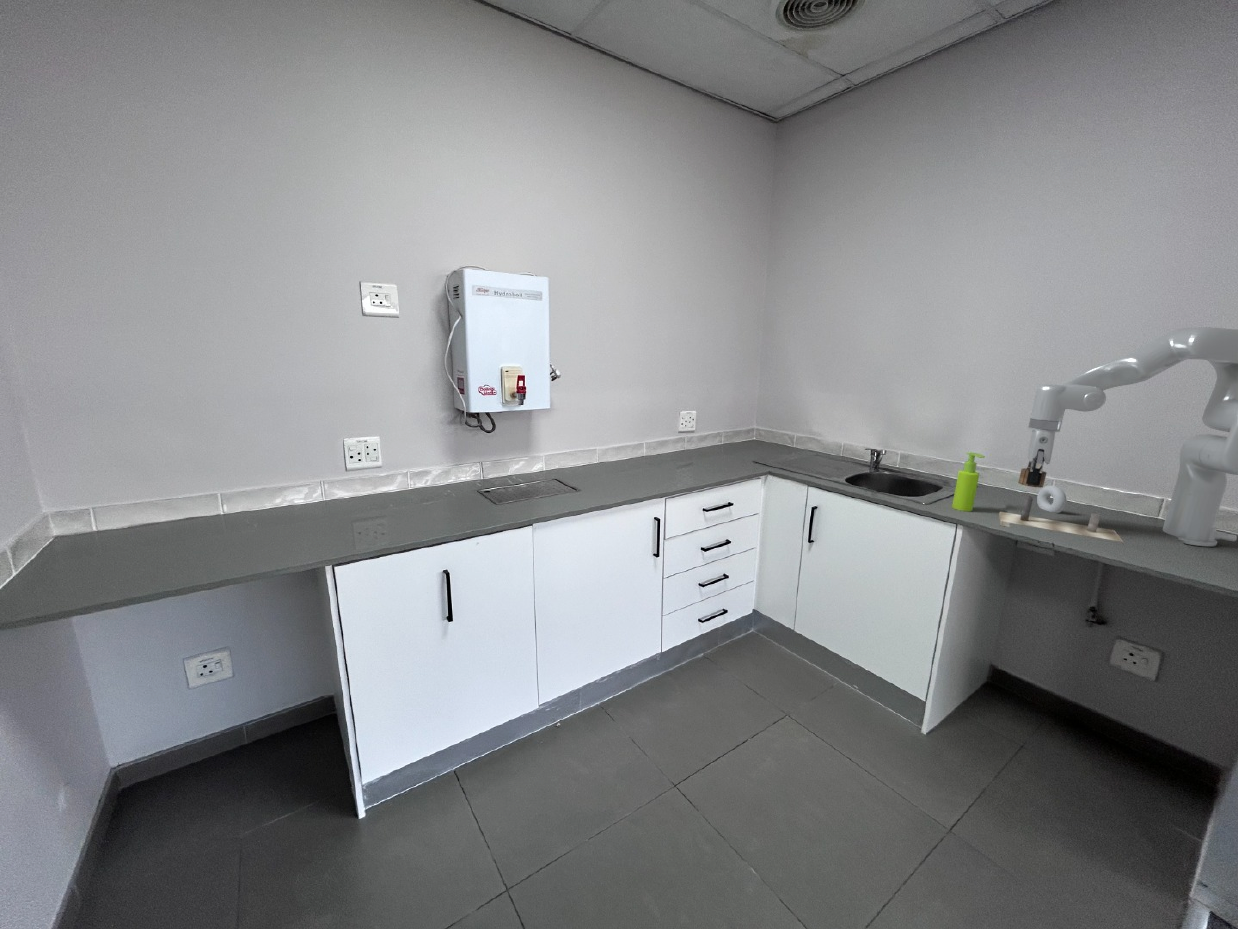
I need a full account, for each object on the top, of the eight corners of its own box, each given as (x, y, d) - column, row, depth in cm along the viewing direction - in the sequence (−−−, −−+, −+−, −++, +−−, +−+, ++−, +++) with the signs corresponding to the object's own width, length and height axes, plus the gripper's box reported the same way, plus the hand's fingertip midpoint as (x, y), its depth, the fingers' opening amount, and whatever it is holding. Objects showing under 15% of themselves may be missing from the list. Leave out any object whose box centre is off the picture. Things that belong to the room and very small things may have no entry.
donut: (1065, 518, 166) (1072, 490, 163) (1055, 518, 166) (1062, 489, 163) (1041, 509, 175) (1047, 482, 173) (1031, 509, 175) (1037, 481, 173)
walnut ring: (1041, 484, 157) (1045, 470, 156) (1043, 488, 152) (1047, 474, 151) (1017, 481, 160) (1021, 467, 159) (1019, 484, 155) (1022, 470, 154)
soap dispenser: (964, 512, 170) (975, 455, 165) (947, 506, 176) (958, 451, 172) (979, 512, 171) (990, 455, 166) (961, 505, 177) (972, 450, 173)
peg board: (1113, 534, 152) (1121, 505, 149) (1122, 546, 142) (1131, 515, 140) (999, 515, 167) (1004, 488, 165) (1000, 525, 157) (1006, 496, 155)
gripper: (1064, 430, 143) (1050, 490, 147) (1057, 423, 156) (1043, 479, 161) (1031, 427, 147) (1018, 486, 151) (1026, 421, 161) (1014, 475, 165)
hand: (1031, 481), depth 156 cm, fingers closed on walnut ring, 6 cm apart
